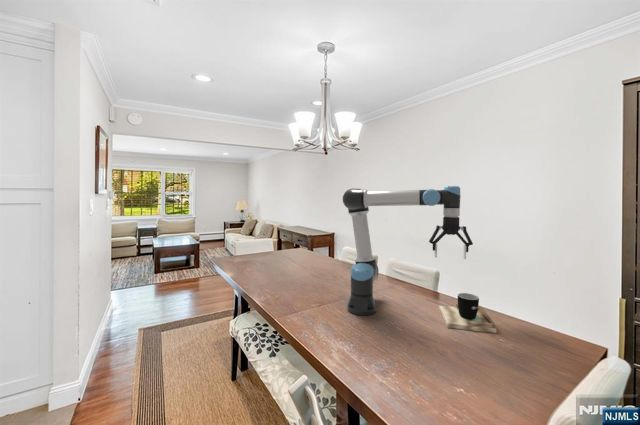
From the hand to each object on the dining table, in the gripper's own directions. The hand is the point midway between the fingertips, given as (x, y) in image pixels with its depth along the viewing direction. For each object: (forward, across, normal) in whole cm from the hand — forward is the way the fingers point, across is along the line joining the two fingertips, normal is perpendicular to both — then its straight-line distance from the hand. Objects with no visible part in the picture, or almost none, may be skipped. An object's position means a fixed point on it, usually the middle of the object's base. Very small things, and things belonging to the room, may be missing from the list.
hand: (449, 257), depth 139 cm
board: (+29, +6, -8) cm, 30 cm away
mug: (+27, +8, -8) cm, 29 cm away
